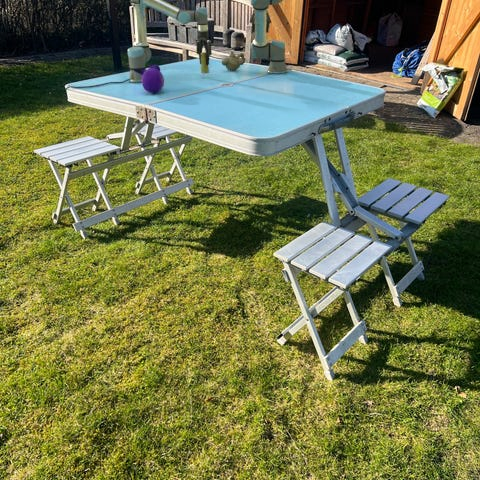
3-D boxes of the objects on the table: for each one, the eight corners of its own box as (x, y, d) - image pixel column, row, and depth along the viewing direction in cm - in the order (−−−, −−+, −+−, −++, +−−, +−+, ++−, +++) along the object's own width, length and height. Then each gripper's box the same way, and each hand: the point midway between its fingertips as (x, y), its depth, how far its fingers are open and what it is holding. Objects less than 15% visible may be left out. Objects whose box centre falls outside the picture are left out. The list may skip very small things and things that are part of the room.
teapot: (225, 73, 360) (224, 53, 352) (218, 71, 369) (217, 51, 361) (248, 70, 369) (247, 50, 362) (240, 68, 378) (240, 49, 370)
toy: (156, 85, 322) (164, 98, 301) (131, 81, 314) (137, 93, 294) (160, 63, 314) (168, 74, 293) (135, 58, 306) (141, 69, 286)
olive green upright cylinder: (210, 72, 345) (209, 52, 338) (205, 73, 341) (204, 53, 334) (204, 71, 348) (203, 52, 341) (199, 73, 344) (198, 53, 337)
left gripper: (215, 31, 328) (217, 64, 339) (197, 29, 337) (198, 62, 349) (209, 32, 323) (210, 66, 334) (190, 30, 332) (192, 64, 344)
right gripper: (275, 3, 359) (275, 32, 370) (250, 3, 372) (250, 31, 383) (270, 4, 354) (270, 33, 365) (245, 3, 367) (245, 32, 378)
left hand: (204, 64), depth 342 cm, fingers closed on olive green upright cylinder, 6 cm apart
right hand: (260, 32), depth 374 cm, fingers open, 13 cm apart
